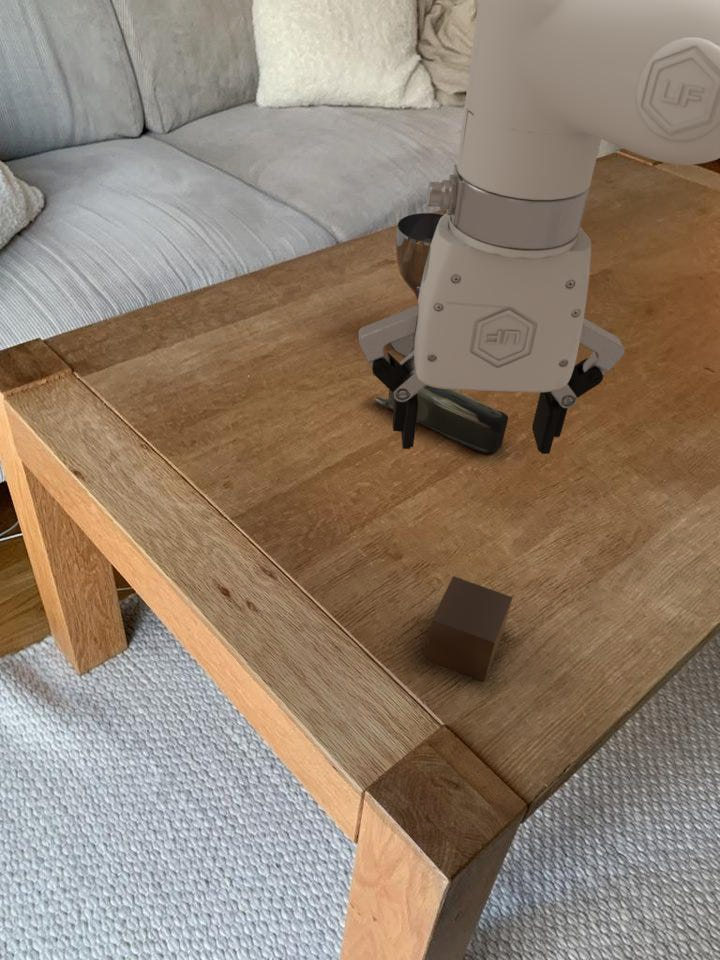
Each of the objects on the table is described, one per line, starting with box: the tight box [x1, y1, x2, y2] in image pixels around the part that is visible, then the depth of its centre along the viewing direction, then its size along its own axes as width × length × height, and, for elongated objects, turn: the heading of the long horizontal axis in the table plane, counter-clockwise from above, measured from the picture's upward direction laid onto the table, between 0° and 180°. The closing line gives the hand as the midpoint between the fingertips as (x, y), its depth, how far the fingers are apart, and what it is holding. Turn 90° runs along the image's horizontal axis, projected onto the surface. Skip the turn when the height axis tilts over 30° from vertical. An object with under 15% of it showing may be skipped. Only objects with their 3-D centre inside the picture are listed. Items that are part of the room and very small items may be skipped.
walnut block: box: [424, 575, 513, 683], centre depth 65 cm, size 5×5×5 cm
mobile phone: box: [374, 385, 509, 454], centre depth 87 cm, size 5×3×15 cm
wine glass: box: [390, 212, 444, 357], centre depth 97 cm, size 8×8×15 cm
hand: (473, 439), depth 58 cm, fingers open, 9 cm apart
